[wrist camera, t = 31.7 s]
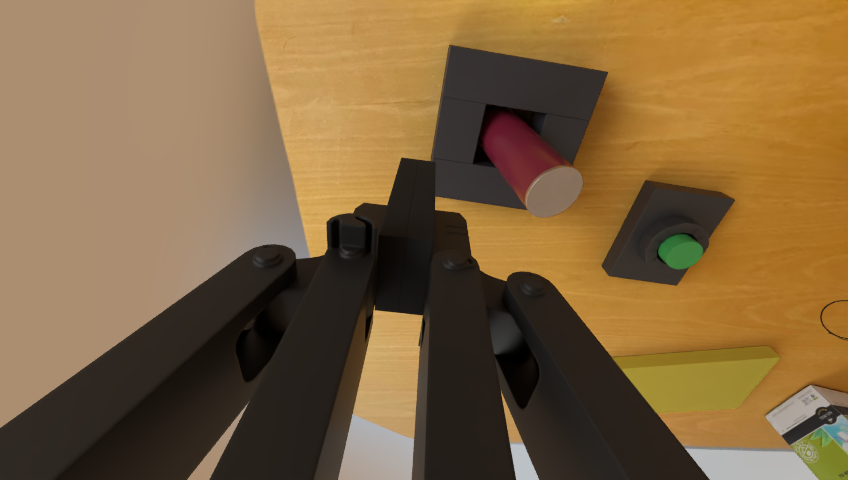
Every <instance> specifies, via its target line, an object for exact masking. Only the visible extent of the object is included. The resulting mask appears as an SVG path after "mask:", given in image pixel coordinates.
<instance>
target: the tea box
mask: <svg viewBox="0 0 848 480" xmlns="http://www.w3.org/2000/svg"><path fill="white" fill-rule="evenodd" d="M765 417H766V419H767V420H768V421H769V422H770V423H771V425H772V426H773V427H774V428H775V430H776V431H777V432H778V433H779V434H780V435H781V436H782V437H783V438H784V440H785V441H786V442H787V443H788V444H789V446H790V447H791V448H792V449H793V450H794V452H795V453H796V454H797V455H798V456H799V457H800V458H801V459H802V460H803V462H804V463H805V464H806V465H807V466H808V468H809V469H810V470H811V471H812V472H813V473H814V474H815V476H816V477H817V478H818V479H819V480H848V393H843V392H839V391H835V390H830V389H826V388H822V387H818V386H813V385H809V386H808V387H806V388H804V389H803V390H801V391H800V392H798V393H797V394H795V395H794V396H792V397H791V398H790V399H788V400H787V401H785V402H784V403H782V404H781V405H780V406H778V407H777V408H775V409H774V410H773V411H771V412H770V413H769V414H767V415H766V416H765Z"/></svg>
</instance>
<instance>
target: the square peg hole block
mask: <svg viewBox="0 0 848 480" xmlns="http://www.w3.org/2000/svg"><path fill="white" fill-rule="evenodd" d="M607 74H608V72H605V71H599V70H594V69H588V68H582V67H576V66H571V65H565V64H559V63H553V62H547V61H541V60H535V59H529V58H523V57H518V56H512V55H506V54H500V53H494V52H488V51H482V50H476V49H470V48H465V47H459V46H453V45H449V48H448V55H447V61H446V67H445V73H444V80H443V86H442V92H441V99H440V105H439V111H438V117H437V124H436V130H435V136H434V143H433V149H432V155H431V161H432V162H436V177H435V196H436V197H443V198H450V199H457V200H463V201H470V202H477V203H484V204H490V205H497V206H504V207H510V208H517V209H524V210H527V208H526V207H525V206H524V204H523V203H522V202H521V200H520V199H519V198H518V196H517V195H516V194H515V192H514V191H513V190H512V188H511V187H510V185H509V184H508V183H507V181H506V180H505V179H504V177H503V176H502V175H501V173H500V172H499V171H498V169H497V168H496V167H495V165H494V164H493V163H492V161H491V160H490V159H489V157H488V156H487V155H486V154H483V153H477V152H475V151H476V147H477V143H478V138H479V134H480V129H481V125H482V121H483V116H484V112H485V107H486V104H490V105H497V106H503V107H509V108H515V109H521V110H527V111H533V113H532V117H531V120H530V123H529V126H530V127H531V128H532V129H533V130H534V131H535V132H536V133H537V134H538V135H539V136H540V137H542V138H543V139H544V140H545V141H546V142H547V143H548V144H549V145H550V146H551V147H553V148H554V149H555V150H556V151H557V152H558V153H559V154H560V155H561V156H562V157H563V158H565V159H566V160H567V161H568V162H569V163H570V164H571V165H573V162H574V159H575V157H576V154H577V152H578V149H579V146H580V144H581V141H582V139H583V136H584V134H585V131H586V128H587V126H588V123H589V120H590V118H591V116H592V113H593V110H594V108H595V105H596V103H597V100H598V97H599V95H600V92H601V90H602V87H603V84H604V82H605V79H606V77H607Z"/></svg>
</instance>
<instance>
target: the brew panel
mask: <svg viewBox="0 0 848 480" xmlns="http://www.w3.org/2000/svg"><path fill="white" fill-rule="evenodd" d="M734 201H735V200H734V199H732V198H731V197H729V196H727V195H725V194H723V193H721V192H716V191H710V190H703V189H697V188H690V187H684V186H677V185H671V184H665V183H658V182H652V181H645V183H644V184H643V186H642V188H641V190H640V192H639V194H638V196H637V198H636V200H635V202H634V204H633V206H632V208H631V210H630V212H629V214H628V216H627V217H626V219H625V221H624V223H623V225H622V227H621V229H620V231H619V233H618V235H617V237H616V239H615V241H614V243H613V245H612V247H611V249H610V251H609V252H608V254H607V256H606V258H605V260H604V262H603V264H602V267H603V269H604V270H605V272H606V273H607V274H608V276H612V277H619V278H626V279H634V280H641V281H648V282H655V283H662V284H669V285H677V284H678V283H679V282H680V280H681V279H682V277H683V276H684V274H685V273H686V271H687V270H688V268H689V267H688V268H685V269H674V268H671V267H670V266H669V265H668V264H667V263H665V262H664V261H663V260H662V259H661V258H660V256H659V254H658V249H659V247H660V245H661V243H662V242H663V241H664V240H666V239H667V238H668V237H670V236H673V235H676V234H686V235H688V236H690V237H691V238H692V239H694V240H695V241H696V242H698V243H699V244H700V245H701V246H702V248H703V254H704V252H705V251H706V249H707V248H708V246H709V238H710V236H711V235H712V233H713V232H714V230H715V229H716V227H717V226H718V224H719V223H720V221H721V220H722V218H723V217H724V216H725V214H726V213H727V211H728V210H729V208H730V207H731V205H732V204H733V202H734ZM703 254H702V255H703ZM701 257H702V256H701Z"/></svg>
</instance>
